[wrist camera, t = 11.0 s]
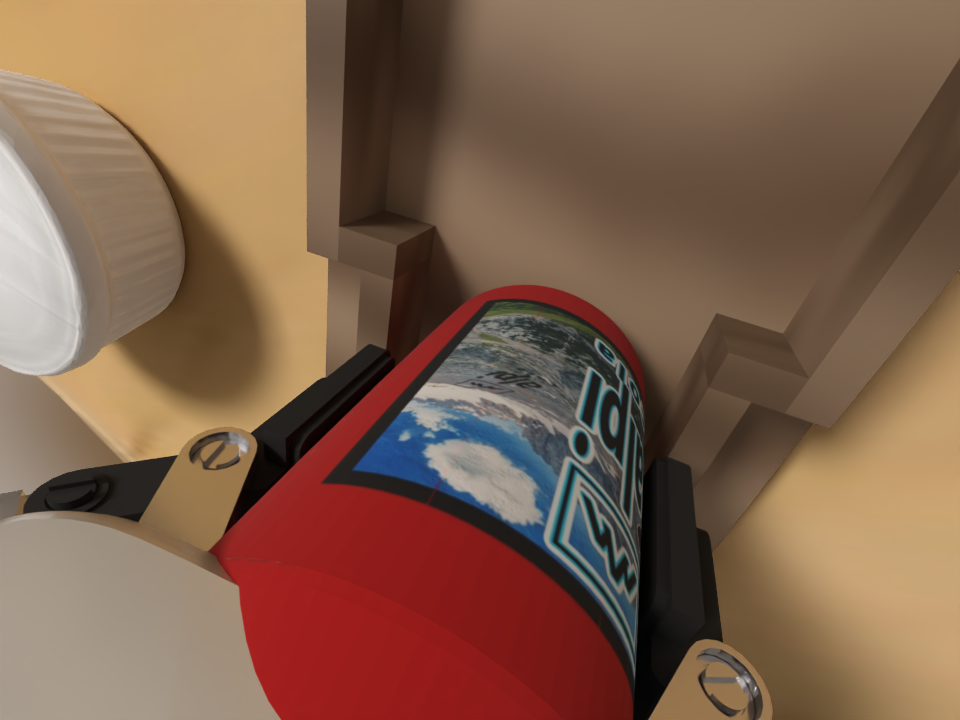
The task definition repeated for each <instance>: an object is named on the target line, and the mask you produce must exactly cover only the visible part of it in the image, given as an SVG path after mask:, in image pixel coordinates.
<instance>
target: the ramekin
mask: <svg viewBox="0 0 960 720" xmlns="http://www.w3.org/2000/svg"><path fill="white" fill-rule="evenodd" d="M184 267H185V242H184V237H183V231H182V226H181V222H180V218H179V215H178V212H177V209H176V206H175V204H174V201H173V199H172V196H171V194H170V192H169V189H168V187H167V185H166V183H165V181H164V180H163V178H162V176H161V174H160V172H159V171H158V169H157V167H156V166H155V164H154V163H153V161H152V160H151V158H150V157H149V155H148V154H147V153H146V151H145V150H144V149H143V147H142V146H141V145H140V144H139V142H138V141H137V140H136V139H135V138H134V137H133V136H132V134H131V133H130V132H129V131H128V130H127V129H126V128H125V127H124V126H123V125H122V124H120V123H119V122H118V121H117V120H116V119H115V118H113V117H112V116H111V115H110V114H108V113H107V112H106V111H104V110H103V109H102V108H101V107H99V106H98V105H97V104H96V103H94V102H93V101H91V100H89V99H88V98H86V97H85V96H83V95H82V94H80V93H79V92H77V91H75V90H72V89H69V88H67V87H65V86H63V85H61V84H58V83H56V82H52V81H48V80H44V79H41V78H37V77H33V76H29V75H24V74H20V73H16V72H11V71H7V70H2V69H0V365H2V366H4V367H6V368H9V369H11V370H13V371H15V372H18V373H22V374H27V375H32V376H55V375H59V374H62V373H65V372H68V371H70V370H73V369H75V368H78V367H80V366H82V365H84V364H86V363H87V362H89V361H90V360H91V359H93V358H94V357H95V356H96V355H97V354H98V352H99V351H100V350H101V348H103V347H105V346H107V345H108V344H110V343H112V342H114V341H115V340H117V339H119V338H121V337H122V336H124V335H126V334H127V333H129V332H131V331H132V330H134V329H135V328H137V327H139V326H140V325H142V324H144V323H145V322H147V321H149V320H150V319H152V318H154V317H155V316H157V315H158V314H160V313H161V312H162V311H163V310H164V309H166V308H167V307H168V305H169V303H170V302H171V301H172V300H173V299H174V297H175V294H176V292H177V290H178V289H179V285H180V282H181V280H182V276H183V273H184Z"/></svg>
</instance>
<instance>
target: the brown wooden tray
mask: <svg viewBox="0 0 960 720" xmlns="http://www.w3.org/2000/svg"><path fill="white" fill-rule="evenodd" d="M306 74H307V251H308V252H311V253H314V254H317V255H320V256H323V257H326V258H329V259H328V302H327V346H326V377H328V376H329V375H330V374H331V373H333V372H334V371H335V370H336V369H338V368H339V367H340V366H341V365H343V364H344V363H345V362H347V361H348V360H349V359H350V358H352V357H353V356H354V355H355V354H357V353H358V352H359V351H360V350H362V349H363V348H364V347H365V346H367V345H368V344H373V345H375V346H378V347H380V348H383V349H386V350H388V351H390V354H391V357H392V358H394V359H395V367H396V366H397V365H398V364H399V363H400V362H401V361H402V360H403V359H404V358H405V357H406V356H408V355H409V354H410V353H411V352H412V351H413V350H414V349H415V348H416V347H417V346H418V345H419V344H420V343H421V342H422V341H423V340H424V339H425V338H426V337H428V336H429V335H430V334H431V333H432V332H433V331H434V330H435V329H436V328H437V327H438V326H439V325H440V324H442V323H443V322H444V321H445V320H446V319H447V318H448V317H449V316H450V315H451V314H452V313H453V312H455V311H456V310H457V309H458V308H459V307H460V306H461V305H463V304H464V303H465V302H467V301H468V300H470V299H471V298H473V297H475V296H477V295H479V294H481V293H483V292H486V291H489V290H492V289H495V288H500V287H504V286H511V285H538V286H546V287H550V288H555V289H558V290H562V291H565V292H568V293H570V294H573V295H575V296H577V297H579V298H581V299H583V300H585V301H587V302H589V303H590V304H592V305H594V306H595V307H596V308H598V309H599V310H601V311H602V312H603V313H604V314H606V315H607V316H608V317H609V318H610V319H611V320H612V321H613V322H614V323H615V324H616V325H617V326H618V327H619V328H620V329H621V331H622V332H623V333H624V334H625V336H626V337H627V339H628V340H629V342H630V343H631V345H632V347H633V349H634V350H635V352H636V355H637V357H638V359H639V362H640V365H641V368H642V372H643V377H644V385H645V418H644V465H643V477H644V475H645V474H646V472H647V470H648V468H649V467H650V465H651V463H652V462H653V460H654V459H658V460H660V461H662V459H663V458H664V457H669V458H672V459H675V460H677V461H680V462H682V463H685V464H688V465H689V466H690V467H691V475H692V485H693V496H694V507H695V518H696V527H697V528H700V529H702V530H705V531H707V533H708V534H709V537H710V541H711V549H712V552H713V551H714V550H715V548H716V547H717V546H718V545H719V543H720V542H721V541H722V539H723V538H724V537H725V536H726V534H727V533H728V532H729V530H730V529H731V528H732V527H733V525H734V524H735V523H736V521H737V520H738V519H739V518H740V516H741V515H742V514H743V512H744V511H745V510H746V509H747V507H748V506H749V505H750V503H751V502H752V501H753V500H754V498H755V497H756V496H757V494H758V493H759V492H760V491H761V489H762V488H763V487H764V485H765V484H766V483H767V482H768V480H769V479H770V478H771V476H772V475H773V474H774V473H775V471H776V470H777V469H778V467H779V466H780V465H781V464H782V462H783V461H784V460H785V458H786V457H787V456H788V455H789V453H790V452H791V451H792V449H793V448H794V447H795V446H796V444H797V443H798V442H799V440H800V439H801V438H802V437H803V435H804V434H805V433H806V431H807V430H808V429H809V428H810V426H811V425H812V424H813V423H814V424H817V425H820V426H823V427H826V428H829V429H830V428H831V427H832V426H833V425H834V423H835V422H836V421H837V420H838V419H839V417H840V416H841V415H842V414H843V412H844V411H845V410H846V409H847V407H848V406H849V405H850V404H851V402H852V401H853V400H854V399H855V398H856V396H857V395H858V394H859V393H860V391H861V390H862V389H863V388H864V386H865V385H866V384H867V383H868V382H869V380H870V379H871V378H872V377H873V375H874V374H875V373H876V372H877V370H878V369H879V368H880V367H881V365H882V364H883V363H884V362H885V361H886V359H887V358H888V357H889V356H890V354H891V353H892V352H893V351H894V349H895V348H896V347H897V346H898V345H899V343H900V342H901V341H902V340H903V338H904V337H905V336H906V335H907V333H908V332H909V331H910V330H911V328H912V327H913V326H914V325H915V324H916V322H917V321H918V320H919V319H920V317H921V316H922V315H923V314H924V312H925V311H926V310H927V309H928V308H929V306H930V305H931V304H932V303H933V301H934V300H935V299H936V298H937V296H938V295H939V294H940V293H941V291H942V290H943V289H944V288H945V287H946V285H947V284H948V283H949V282H950V280H951V279H952V278H953V277H954V275H955V274H956V273H957V272H958V271H959V269H960V0H306Z"/></svg>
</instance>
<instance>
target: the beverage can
mask: <svg viewBox="0 0 960 720" xmlns="http://www.w3.org/2000/svg"><path fill="white" fill-rule="evenodd" d="M644 418H645V385H644V377H643V372H642V368H641V365H640V362H639V359H638V357H637V355H636V352H635V350H634V349H633V347H632V345H631V343H630V342H629V340H628V339H627V337H626V336H625V334H624V333H623V332H622V331H621V329H620V328H619V327H618V326H617V325H616V324H615V323H614V322H613V321H612V320H611V319H610V318H609V317H608V316H607V315H606V314H604V313H603V312H602V311H601V310H599V309H598V308H596V307H595V306H594V305H592V304H590V303H589V302H587V301H585V300H583V299H581V298H579V297H577V296H575V295H573V294H570V293H568V292H565V291H562V290H558V289H555V288H550V287H546V286H538V285H511V286H504V287H500V288H495V289H492V290H489V291H486V292H483V293H481V294H479V295H477V296H475V297H473V298H471V299H470V300H468V301H467V302H465V303H464V304H463V305H461V306H460V307H459V308H458V309H457V310H456V311H455V312H453V313H452V314H451V315H450V316H449V317H448V318H447V319H446V320H445V321H444V322H443V323H442V324H440V325H439V326H438V327H437V328H436V329H435V330H434V331H433V332H432V333H431V334H430V335H429V336H428V337H426V338H425V339H424V340H423V341H422V342H421V343H420V344H419V345H418V346H417V347H416V348H415V349H414V350H413V351H412V352H411V353H410V354H409V355H408V356H406V357H405V358H404V359H403V360H402V361H401V362H400V363H399V364H398V365H397V366H396V367H395V368H394V369H393V370H392V371H391V372H390V373H389V374H388V375H387V376H385V377H384V378H383V379H382V380H381V381H380V382H379V383H378V384H377V385H376V386H375V387H374V388H373V389H372V390H371V391H370V392H369V393H368V394H367V395H366V396H365V397H364V398H363V399H362V400H361V401H360V402H359V403H358V404H357V405H356V406H355V407H353V408H352V409H351V410H350V411H349V412H348V413H347V414H346V415H345V416H344V417H343V418H342V419H341V420H340V421H339V422H338V423H337V424H336V425H335V426H334V427H333V428H332V429H331V430H330V431H329V432H328V433H327V434H326V435H325V436H324V437H323V438H322V439H321V440H320V441H319V442H318V443H317V444H315V445H314V446H313V447H312V448H311V449H310V450H309V451H308V452H307V453H306V454H305V455H304V456H303V457H302V458H301V459H300V460H299V461H298V462H297V463H296V464H295V465H294V466H293V467H292V468H291V469H290V470H289V471H288V472H287V473H286V474H285V475H284V476H283V477H282V478H281V479H280V480H279V481H278V482H277V483H276V484H275V485H274V486H273V487H272V488H271V489H270V490H269V491H268V492H267V493H266V494H265V495H264V496H263V497H262V498H261V499H260V500H259V501H258V502H257V503H256V504H255V505H254V506H253V507H252V508H251V509H250V510H249V511H248V512H247V513H246V514H245V515H244V516H243V517H242V518H241V519H240V520H239V521H238V522H237V523H236V524H235V525H234V526H233V527H232V528H231V529H230V530H229V531H228V532H227V533H226V534H225V535H224V536H223V537H222V538H221V539H220V540H219V541H218V542H217V543H216V544H215V545H214V546H213V547H212V548H211V549H209V550H208V551H207V552H208V553H211V554H213V555H215V556H216V557H217V560H218V562H219V563H220V565H221V566H222V567H223V569H224V570H225V572H226V573H227V574H228V575H229V576H230V577H231V579H232V580H233V581H234V582H235V583H236V584H237V585H238V586H239V596H240V607H241V613H242V619H243V625H244V631H245V637H246V642H247V645H248V649H249V652H250V656H251V659H252V663H253V666H254V670H255V673H256V675H257V677H258V679H259V682H260V684H261V686H262V688H263V690H264V693H265V695H266V697H267V699H268V701H269V703H270V704H271V706H272V707H273V709H274V710H275V712H276V713H277V715H278V716H279V718H280V719H281V720H633V711H634V691H635V671H636V651H637V630H638V605H639V579H640V554H641V529H642V502H643V465H644Z"/></svg>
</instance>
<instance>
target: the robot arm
mask: <svg viewBox="0 0 960 720" xmlns="http://www.w3.org/2000/svg"><path fill="white" fill-rule="evenodd" d="M394 368H395V359H394V358H392V357H391V354H390V351H388V350H386V349H383V348H380V347H378V346H375V345H373V344H368V345H367V346H365V347H364V348H363V349H362V350H360V351H359V352H358V353H357V354H355V355H354V356H353V357H352V358H350V359H349V360H348V361H347V362H345V363H344V364H343V365H341V366H340V367H339V368H338V369H336V370H335V371H334V372H333V373H331V374H330V375H329V376H328V377H326V378H321V379H319V380H318V381H316V382H315V383H314V384H313V385H311V386H310V387H309V388H307V389H306V390H305V391H304V392H302V393H301V394H300V395H299V396H297V397H296V398H295V399H293V400H292V401H291V402H290V403H288V404H287V405H286V406H285V407H283V408H282V409H281V410H279V411H278V412H277V413H276V414H274V415H273V416H272V417H271V418H269V419H268V420H267V421H265V422H264V423H263V424H262V425H260V426H259V427H258V428H257V429H255V430H254V431H253V432H251V433H249V432H247V431H245V430H242V429H238V428H233V427H222V428H216V429H211V430H207V431H205V432H202V433H200V434H198V435H196V436H195V437H193V438H192V439H190V440H189V441H188V442H187V443H186V444H185V446H184V447H183V448H182V450H181V451H180V453H179V455H176V456H170V457H163V458H156V459H149V460H142V461H136V462H129V463H122V464H115V465H109V466H102V467H95V468H88V469H82V470H77V471H73V472H68V473H65V474H63V475H60V476H58V477H55V478H53V479H51V480H49V481H48V482H46V483H44V484H43V485H41V486H40V487H38V488H37V489H36V490H35V491H34V492H33V493H32V494H30V495H25V494H24V492H23V490H18V491H13V492H8V493H2V494H0V720H281V719H280V718H279V716H278V715H277V713H276V712H275V710H274V709H273V707H272V706H271V704H270V703H269V701H268V699H267V697H266V695H265V693H264V690H263V688H262V686H261V684H260V682H259V679H258V677H257V675H256V673H255V670H254V666H253V663H252V659H251V656H250V652H249V649H248V645H247V642H246V637H245V631H244V625H243V619H242V613H241V607H240V596H239V586H238V585H237V584H236V583H235V582H234V581H233V580H232V579H231V577H230V576H229V575H228V574H227V573H226V572H225V570H224V569H223V567H222V566H221V565H220V563H219V562H218V560H217V557H216V556H215V555H213V554H211V553H208V552H207V551H208V550H209V549H211V548H212V547H213V546H214V545H215V544H216V543H217V542H218V541H219V540H220V539H221V538H222V537H223V536H224V535H225V534H226V533H227V532H228V531H229V530H230V529H231V528H232V527H233V526H234V525H235V524H236V523H237V522H238V521H239V520H240V519H241V518H242V517H243V516H244V515H245V514H246V513H247V512H248V511H249V510H250V509H251V508H252V507H253V506H254V505H255V504H256V503H257V502H258V501H259V500H260V499H261V498H262V497H263V496H264V495H265V494H266V493H267V492H268V491H269V490H270V489H271V488H272V487H273V486H274V485H275V484H276V483H277V482H278V481H279V480H280V479H281V478H282V477H283V476H284V475H285V474H286V473H287V472H288V471H289V470H290V469H291V468H292V467H293V466H294V465H295V464H296V463H297V462H298V461H299V460H300V459H301V458H302V457H303V456H304V455H305V454H306V453H307V452H308V451H309V450H310V449H311V448H312V447H313V446H314V445H315V444H317V443H318V442H319V441H320V440H321V439H322V438H323V437H324V436H325V435H326V434H327V433H328V432H329V431H330V430H331V429H332V428H333V427H334V426H335V425H336V424H337V423H338V422H339V421H340V420H341V419H342V418H343V417H344V416H345V415H346V414H347V413H348V412H349V411H350V410H351V409H352V408H353V407H355V406H356V405H357V404H358V403H359V402H360V401H361V400H362V399H363V398H364V397H365V396H366V395H367V394H368V393H369V392H370V391H371V390H372V389H373V388H374V387H375V386H376V385H377V384H378V383H379V382H380V381H381V380H382V379H383V378H384V377H385V376H387V375H388V374H389V373H390V372H391V371H392V370H393V369H394ZM772 713H773V708H772V703H771V698H770V695H769V692H768V690H767V688H766V686H765V684H764V681H763V680H762V678H761V677H760V675H759V674H758V672H757V671H756V670H755V668H754V667H753V666H752V665H751V664H750V663H749V662H748V661H747V660H746V658H745V657H744V656H743V655H742V654H740V653H739V652H737V651H736V650H735V649H733V648H732V647H730V646H729V645H726V644H724V643H723V639H722V631H721V622H720V614H719V606H718V598H717V590H716V582H715V573H714V565H713V557H712V549H711V541H710V537H709V534H708V533H707V531H705V530H702V529H700V528H697V527H696V518H695V507H694V496H693V485H692V475H691V467H690V466H689V465H688V464H685V463H682V462H680V461H677V460H675V459H672V458H669V457H664V458H663V459H662V461H660V460H658V459H654V460H653V462H652V463H651V465H650V467H649V468H648V470H647V472H646V474H645V475H644V477H643V502H642V529H641V554H640V579H639V605H638V630H637V651H636V671H635V691H634V711H633V720H772Z"/></svg>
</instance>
